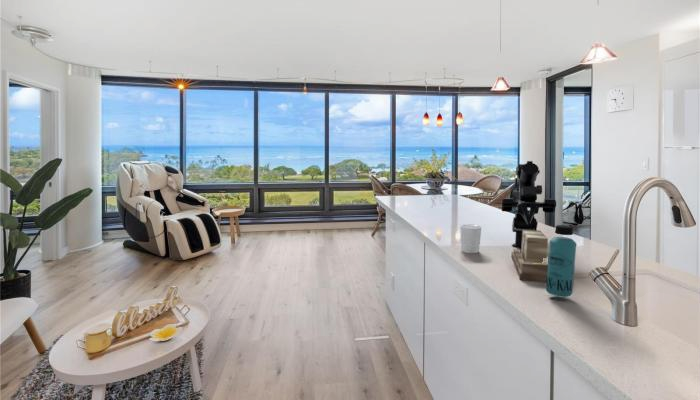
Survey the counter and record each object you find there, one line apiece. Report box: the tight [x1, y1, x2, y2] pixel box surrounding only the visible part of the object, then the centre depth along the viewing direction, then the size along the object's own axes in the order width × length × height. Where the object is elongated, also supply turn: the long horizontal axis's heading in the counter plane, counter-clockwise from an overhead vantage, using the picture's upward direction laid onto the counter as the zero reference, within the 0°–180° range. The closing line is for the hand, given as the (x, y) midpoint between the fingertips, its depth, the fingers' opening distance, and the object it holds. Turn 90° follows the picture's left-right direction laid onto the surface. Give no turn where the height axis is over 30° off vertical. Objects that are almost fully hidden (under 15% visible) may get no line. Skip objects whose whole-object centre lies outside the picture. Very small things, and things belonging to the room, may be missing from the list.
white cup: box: [459, 224, 482, 254], centre depth 149 cm, size 8×8×10 cm
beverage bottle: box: [545, 224, 577, 298], centre depth 101 cm, size 6×7×20 cm
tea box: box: [520, 229, 549, 263], centre depth 130 cm, size 13×6×9 cm, turn 162°
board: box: [510, 248, 549, 283], centre depth 127 cm, size 26×12×5 cm, turn 162°
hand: (528, 224), depth 141 cm, fingers closed
